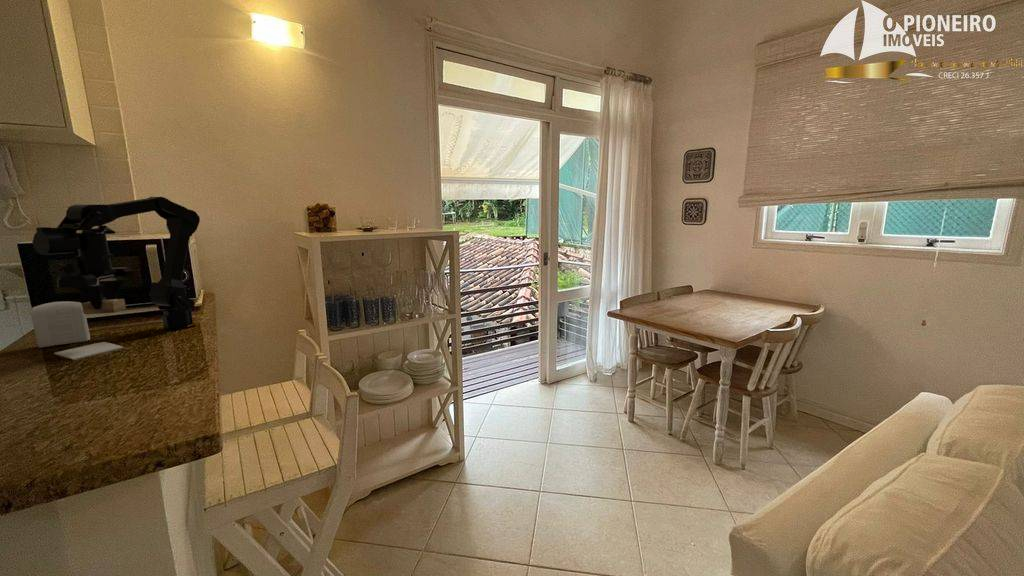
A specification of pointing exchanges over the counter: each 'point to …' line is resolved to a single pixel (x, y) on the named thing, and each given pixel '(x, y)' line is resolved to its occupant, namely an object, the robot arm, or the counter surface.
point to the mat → (88, 350)
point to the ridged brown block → (105, 306)
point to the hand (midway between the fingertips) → (104, 307)
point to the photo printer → (59, 323)
